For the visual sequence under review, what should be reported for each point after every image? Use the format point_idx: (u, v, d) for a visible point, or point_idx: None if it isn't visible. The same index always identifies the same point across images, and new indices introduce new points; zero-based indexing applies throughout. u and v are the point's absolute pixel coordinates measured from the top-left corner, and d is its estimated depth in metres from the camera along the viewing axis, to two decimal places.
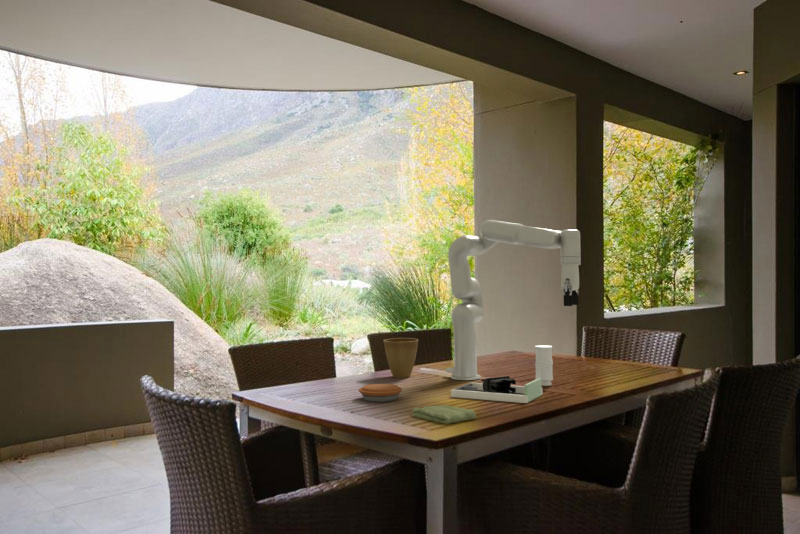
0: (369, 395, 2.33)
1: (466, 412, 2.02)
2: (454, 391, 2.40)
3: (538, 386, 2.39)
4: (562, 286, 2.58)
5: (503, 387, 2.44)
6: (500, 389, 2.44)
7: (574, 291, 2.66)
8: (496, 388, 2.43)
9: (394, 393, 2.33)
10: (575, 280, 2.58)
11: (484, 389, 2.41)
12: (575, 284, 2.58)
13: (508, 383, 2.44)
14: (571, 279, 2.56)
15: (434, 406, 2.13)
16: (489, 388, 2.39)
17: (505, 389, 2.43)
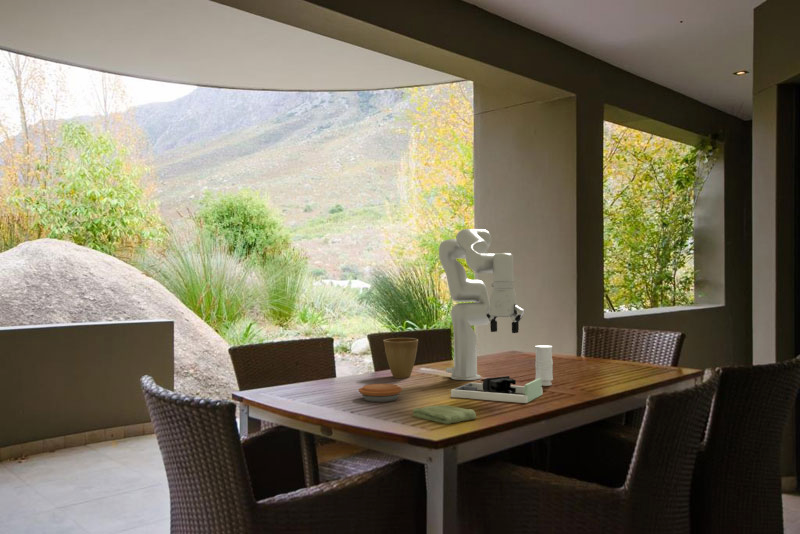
0: (369, 395, 2.33)
1: (466, 412, 2.02)
2: (454, 391, 2.40)
3: (538, 386, 2.39)
4: (511, 312, 2.46)
5: (503, 387, 2.44)
6: (500, 389, 2.44)
7: None
8: (496, 388, 2.43)
9: (394, 393, 2.33)
10: None
11: (484, 389, 2.41)
12: None
13: (508, 383, 2.44)
14: None
15: (434, 406, 2.13)
16: (489, 388, 2.39)
17: (505, 389, 2.43)
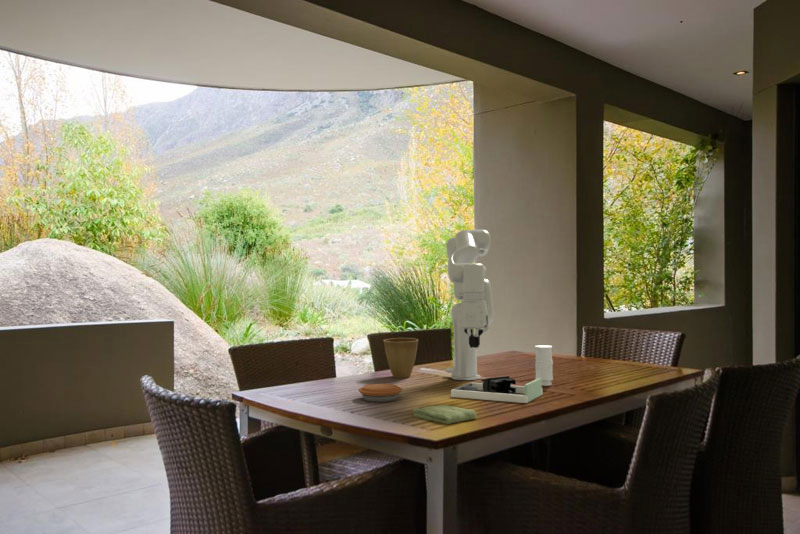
0: (369, 395, 2.33)
1: (467, 412, 2.02)
2: (454, 391, 2.40)
3: (538, 386, 2.39)
4: (484, 324, 2.42)
5: (503, 387, 2.44)
6: (500, 389, 2.44)
7: None
8: (496, 388, 2.43)
9: (394, 393, 2.33)
10: None
11: (484, 389, 2.41)
12: None
13: (508, 383, 2.44)
14: (487, 316, 2.45)
15: (434, 406, 2.13)
16: (489, 388, 2.39)
17: (505, 389, 2.43)
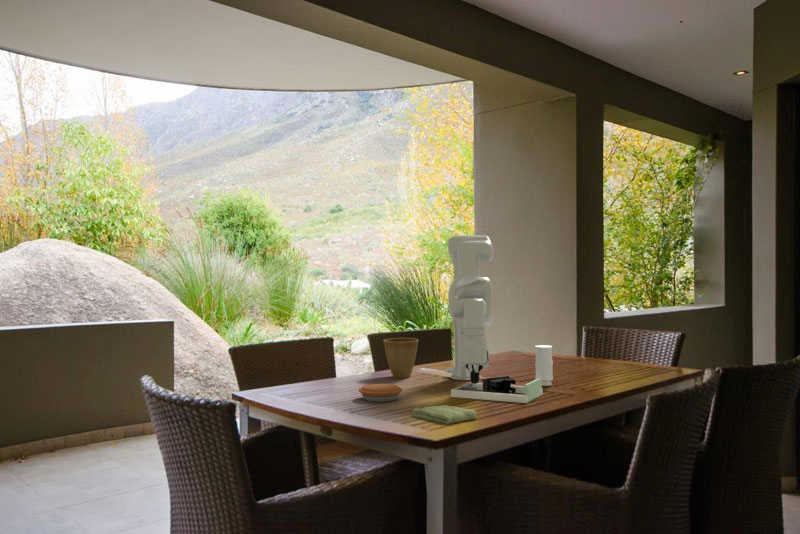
0: (369, 395, 2.33)
1: (467, 412, 2.03)
2: (454, 391, 2.40)
3: (538, 386, 2.39)
4: (485, 360, 2.42)
5: (503, 387, 2.44)
6: (500, 389, 2.44)
7: None
8: (496, 388, 2.43)
9: (394, 393, 2.33)
10: None
11: (484, 389, 2.41)
12: None
13: (508, 383, 2.44)
14: (488, 351, 2.45)
15: (434, 406, 2.13)
16: (489, 388, 2.39)
17: (505, 389, 2.43)
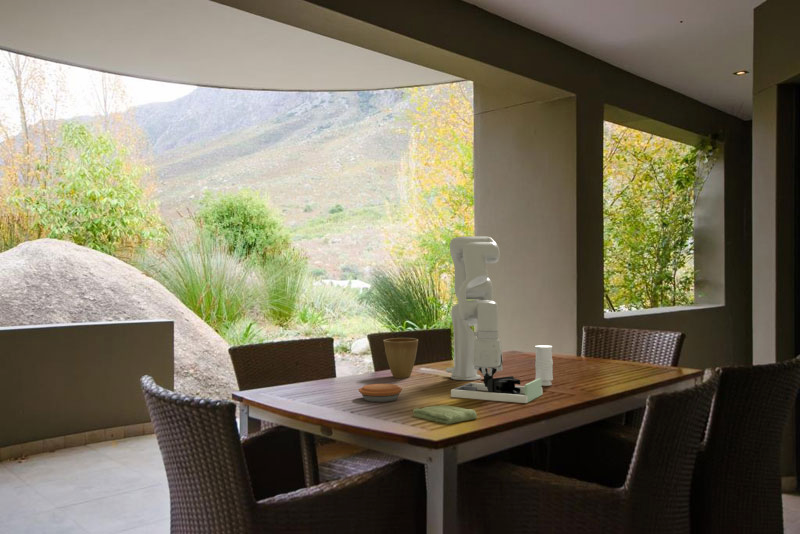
0: (369, 395, 2.33)
1: (467, 412, 2.03)
2: (454, 391, 2.40)
3: (538, 386, 2.39)
4: (499, 363, 2.39)
5: (507, 387, 2.43)
6: (504, 389, 2.43)
7: None
8: (500, 388, 2.42)
9: (394, 393, 2.33)
10: None
11: (489, 389, 2.40)
12: None
13: (512, 383, 2.43)
14: None
15: (434, 406, 2.12)
16: (494, 388, 2.38)
17: (509, 389, 2.42)
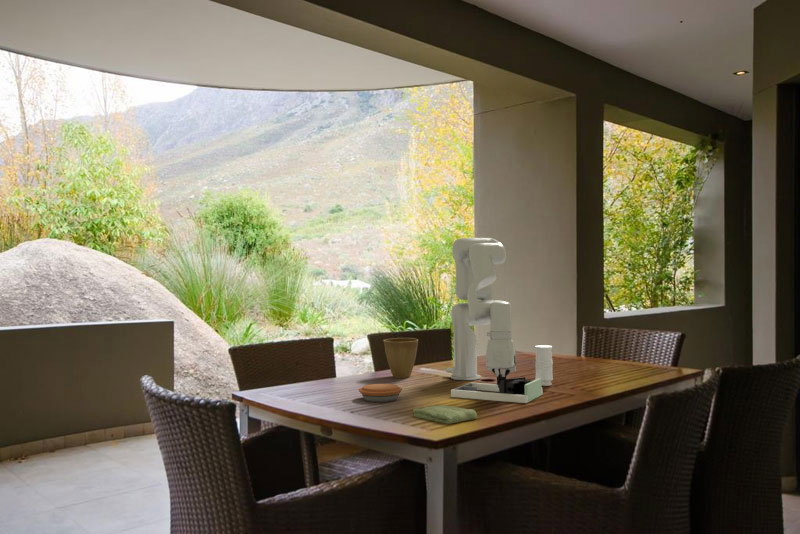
0: (369, 395, 2.33)
1: (467, 412, 2.03)
2: (454, 391, 2.40)
3: (538, 386, 2.39)
4: (512, 364, 2.37)
5: (519, 388, 2.40)
6: (516, 390, 2.40)
7: None
8: (512, 389, 2.39)
9: (394, 393, 2.33)
10: None
11: (500, 391, 2.37)
12: None
13: (524, 384, 2.40)
14: (515, 355, 2.40)
15: (434, 406, 2.12)
16: (506, 389, 2.35)
17: (521, 390, 2.39)
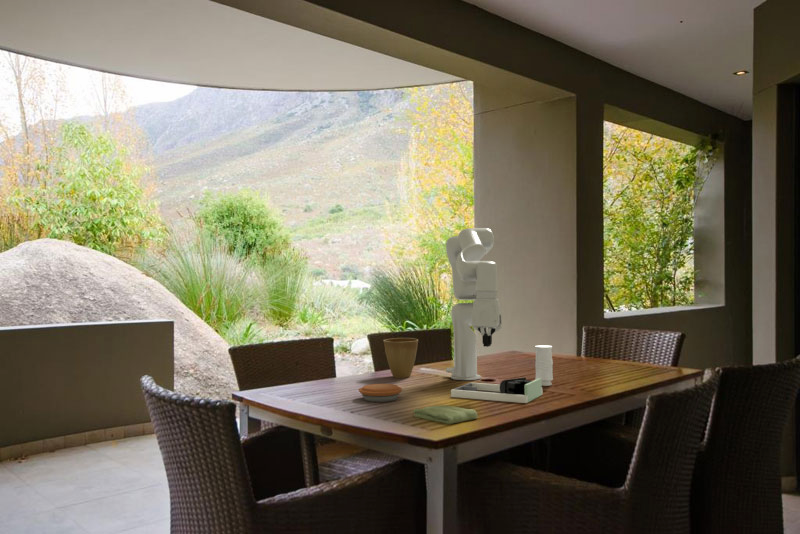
0: (369, 395, 2.33)
1: (468, 412, 2.03)
2: (454, 391, 2.40)
3: (538, 386, 2.39)
4: (498, 323, 2.40)
5: (520, 389, 2.40)
6: (517, 391, 2.40)
7: None
8: (513, 390, 2.39)
9: (394, 393, 2.33)
10: None
11: (501, 391, 2.37)
12: None
13: None
14: None
15: (435, 406, 2.12)
16: (507, 390, 2.35)
17: (522, 391, 2.39)
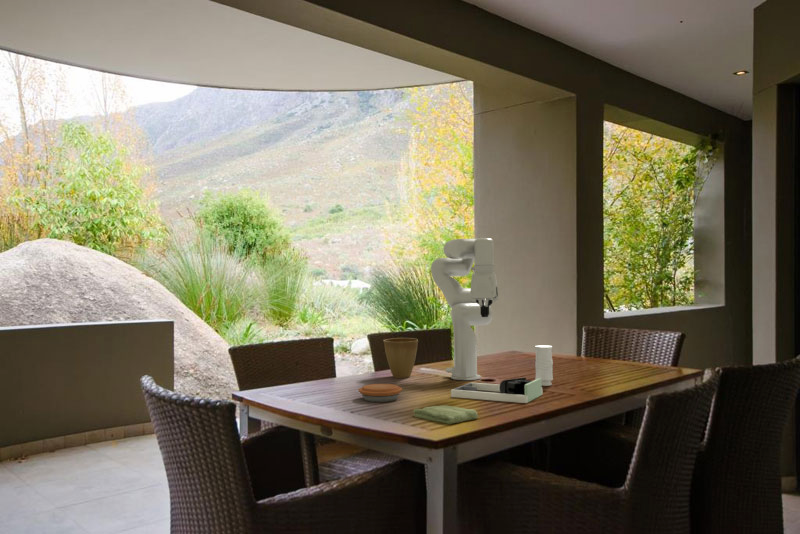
0: (369, 395, 2.33)
1: (468, 412, 2.03)
2: (454, 391, 2.40)
3: (538, 386, 2.39)
4: (494, 294, 2.58)
5: (520, 389, 2.40)
6: (517, 391, 2.40)
7: None
8: (513, 390, 2.39)
9: (394, 393, 2.33)
10: None
11: (501, 391, 2.37)
12: None
13: None
14: (497, 287, 2.62)
15: (435, 406, 2.12)
16: (507, 390, 2.35)
17: (522, 391, 2.39)
